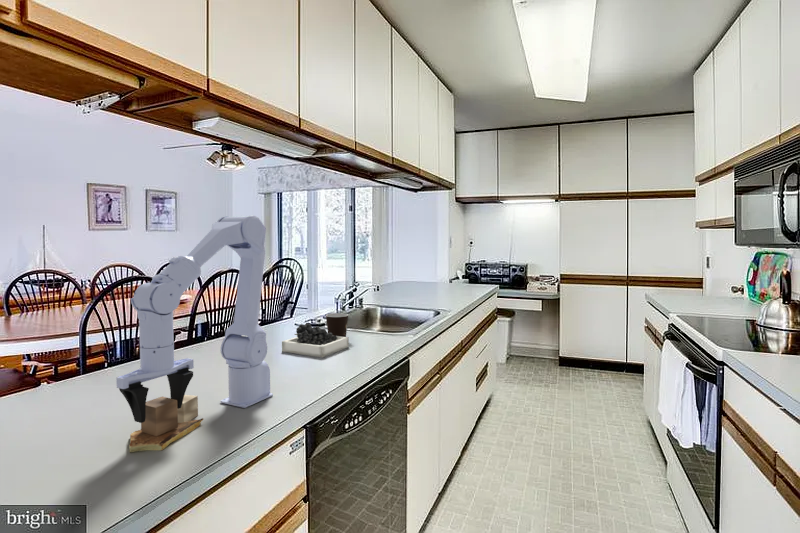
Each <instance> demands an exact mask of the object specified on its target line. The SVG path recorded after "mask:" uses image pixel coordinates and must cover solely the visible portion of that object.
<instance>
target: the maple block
mask: <svg viewBox="0 0 800 533" xmlns="http://www.w3.org/2000/svg"><path fill="white" fill-rule="evenodd" d="M198 416H199V398H198V395H191V394H185V395H184V398H183V402H182V406H181V408H179V409H178V423H182V422H188V421H192V420H194V419H195V418H196V417H198Z"/></svg>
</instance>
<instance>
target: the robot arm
mask: <svg viewBox="0 0 800 533" xmlns="http://www.w3.org/2000/svg"><path fill="white" fill-rule="evenodd" d="M266 230H267V229H266V226H265V225H264V222H262V221H261V219H260V218H259V217H257V216H256V215H248V216H247V215H246V216H224V215H223V216H221V217H219V219H218V220H217V221H215V222H214V223H212V225H211V229H210V230H209V231H208V233H207V234H206V235H205V236H204V237H203V238H202V239H201V240H200V241H199V242H198V244H196V246H195V247H194V248H192V250H191V251H190V252H189V253H188V254H187V255H178V256H177V257H174V256H173V257H172V258H170V259H169V260H168V262H169V264H168V265H167V266H166V267H165V268H164V269H163V270H161V271H160V273H158V274H155V275H153V276H152V277H151V279H152V280H151V281H150V282H145V283H142V284H141V285H139V286H138V287H137V288H136V289H135V291H134V294H133V297H132V298H130V303H131V305H132V307H133V309H135V310H136V312H137V319H138V330H139V333H138V334H139V359H140V360H139V364H140V368H138V369H135V370H133V371H131V372H128V373H126V374H123V375H120V376H117V377H116V378H115V379H116V380H115V381H116V388H117V389H119V392H120V393H121V394H122V396H123V398H125V400H126V402H127V404H128V406H129V407H130V408H129V409H130V411H131V413H132V416H133V419H134V420H133V421H134V422H137V423H140V424H141V423H143V422H145V418H146V402H147V398H148V393H149V390H150V388H149V387H145V386H144V384H142V383H145V382H148V381H151V380H156V379H157V378H162V377H165V376H166V378H167V381H168V385H169V390H170V398H171V399H175V400H177V409H179V408H181V406H182V402H183V398H184V395H186V392H187V388H188V386H189V384H190V382H191V380H192V379H193V378H194V371H192V369H194V368H195V367H194V366H195V365H194V362H195V361H194V358H188V357H186V358H181V359H177V360H175V343H174V342H175V341H174V340H175V339H174V338H175V337H174V311H175V310H176V309H178V307H179V305H180V302H181V298H182V296H183V295H184V294H183V293H184V292H186V290H187V289H188V288H190V286H192V284H193V283H194V282H195V281H196V280H197V279H198V278H199V277H200V276H201V275H202V274H201V272H202V270H201V267H202V266H203V265H205V264H206V263H207V262H208V261H209V260H210V259H211V258H213V257H214V256H215V255H216V254H217V253H218V252H219V251H221V250H222V249H223V248H224V247H225V246H227V247H228V248H230V249H232V251H234V252H235V253H237V255H238V256H239V257H240V261H239V262H240V263H239V271H238V280H237V281H238V282H237V288H236V290H237V292H236V298H235V299H236V300H235V310H234V320H233V323H232V324H231V325H230V326H229V327H227V328H226V329H225V331H224V332H225V334H224V338H223V340H222V342H221V344H220V354H221V357H222V358H223V359H224V360H225V364H226V365H227V366H228V367H227V368H228V373H227V375H228V379H227V380H228V396H227V397H226V398H223V399H220V404H221V403H222V404H225V405H230V406H234V407H237V408H242V409H245V408H248V407H250V406H253V405H254V404H257V403H260V402H262V401H263V400H264V401H265V399H268V398H271V397H273V395H274V394H273V392H271V368H270V366H269V363H267V361H266V360H265V359H266V357H267V353H268V343H267V332H266V331H265V330H264V329H263V328H262V327H261V325H259V317H260V316H259V315H260V306H261V297H262V296H261V295H262V288H263V276H264V268H265V258H266V257H265V255H266V250H265V247H266V246H265V242H266V239H265V238H266V233H267V232H266Z"/></svg>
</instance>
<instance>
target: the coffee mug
mask: <svg viewBox="0 0 800 533" xmlns="http://www.w3.org/2000/svg"><path fill="white" fill-rule="evenodd" d="M325 320H326V321H325V322H326V327H327V328H326V329H327V330H326V331H327V333H332V335H333V336H341V337H347V333H348V332H347V331H348V330H347V329H348V321H349V314H348V313H341V312H339V313H338V312H337V313H336V312H335V313H327V314H325Z"/></svg>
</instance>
